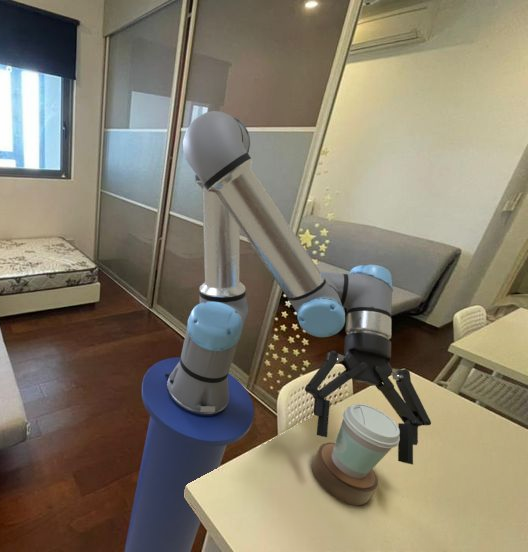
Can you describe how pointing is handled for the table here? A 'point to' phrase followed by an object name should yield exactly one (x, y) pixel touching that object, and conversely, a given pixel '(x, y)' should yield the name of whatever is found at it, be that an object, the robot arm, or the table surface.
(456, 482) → the table surface
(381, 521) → the table surface
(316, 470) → the cup stand
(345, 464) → the coffee cup
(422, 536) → the table surface
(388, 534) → the table surface
